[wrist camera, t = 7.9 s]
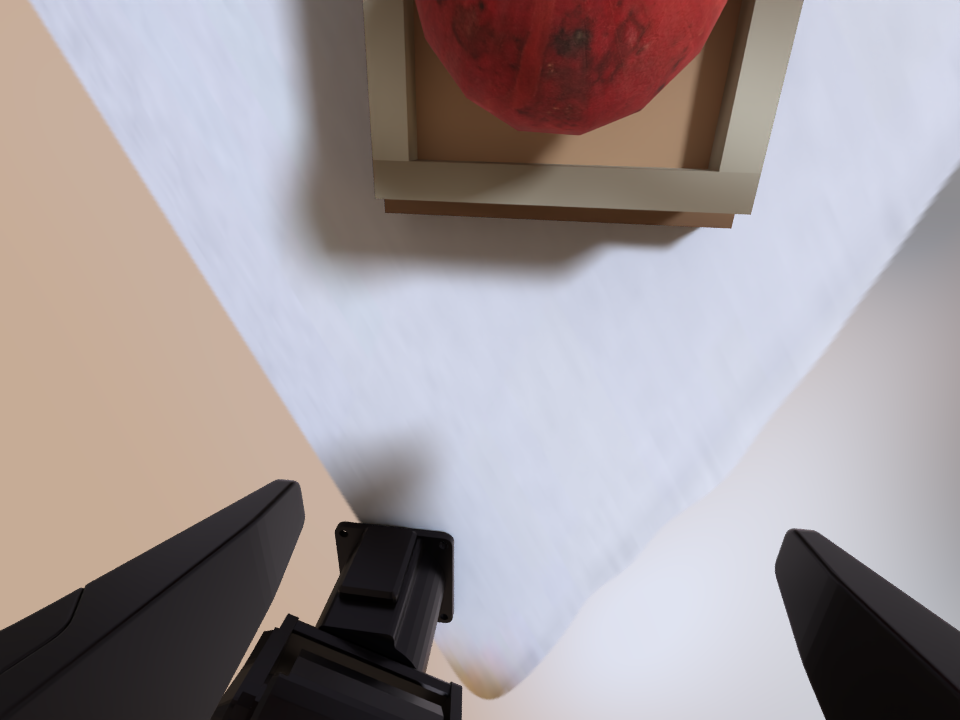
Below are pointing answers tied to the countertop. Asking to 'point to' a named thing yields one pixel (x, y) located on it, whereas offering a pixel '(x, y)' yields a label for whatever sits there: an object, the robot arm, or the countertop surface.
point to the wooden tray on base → (591, 156)
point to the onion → (565, 55)
